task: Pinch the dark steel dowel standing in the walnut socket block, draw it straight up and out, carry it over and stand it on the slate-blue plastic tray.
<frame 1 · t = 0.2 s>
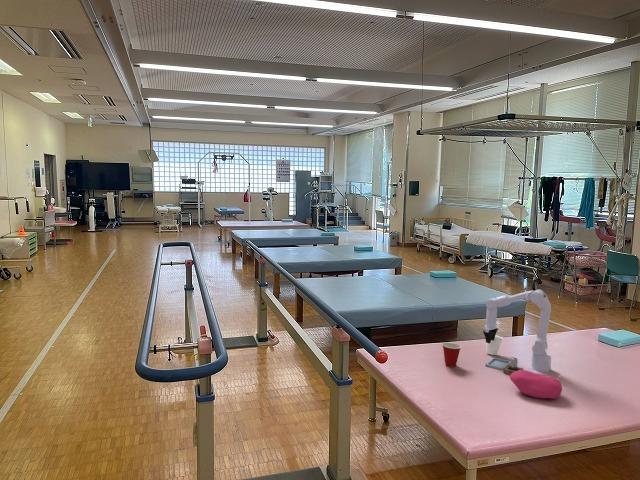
hand: (489, 341, 274), 10 cm above the table, fingers open, 6 cm apart
socket block: (513, 373, 252), on the table
plastic cup: (450, 365, 263), on the table
tray: (498, 365, 264), on the table
dowel: (513, 372, 252), resting on socket block
cushion: (536, 393, 228), on the table
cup: (491, 354, 281), on the table, touching gripper
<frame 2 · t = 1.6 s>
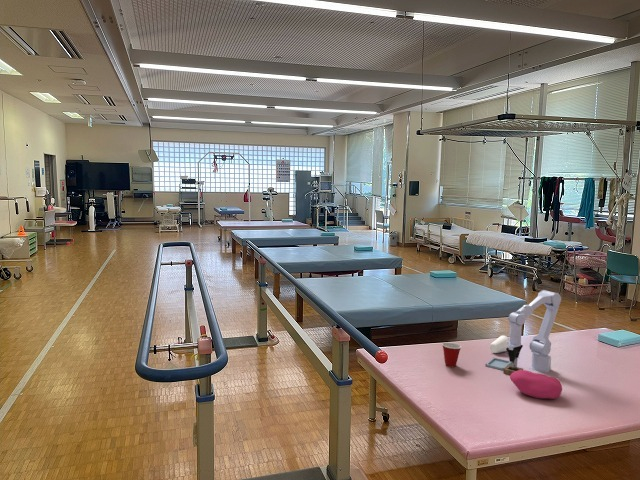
hand: (513, 359, 251), 8 cm above the table, fingers open, 7 cm apart
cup: (493, 348, 282), point 3 cm above the table
everything else where it was.
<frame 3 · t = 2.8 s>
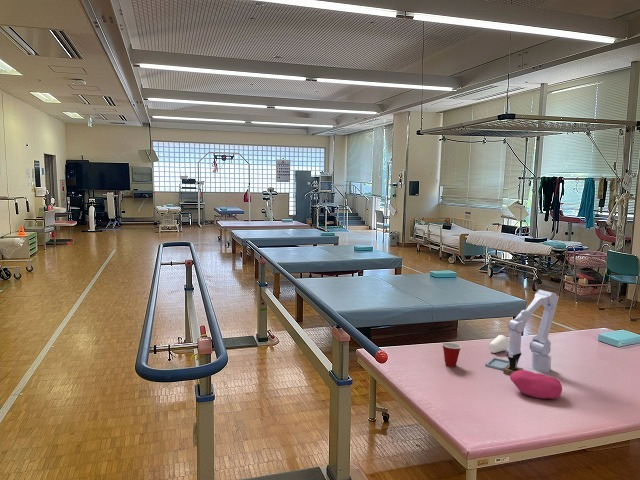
hand: (513, 366, 252), 4 cm above the table, fingers closed on dowel, 3 cm apart
dowel: (513, 372, 252), resting on socket block, touching gripper
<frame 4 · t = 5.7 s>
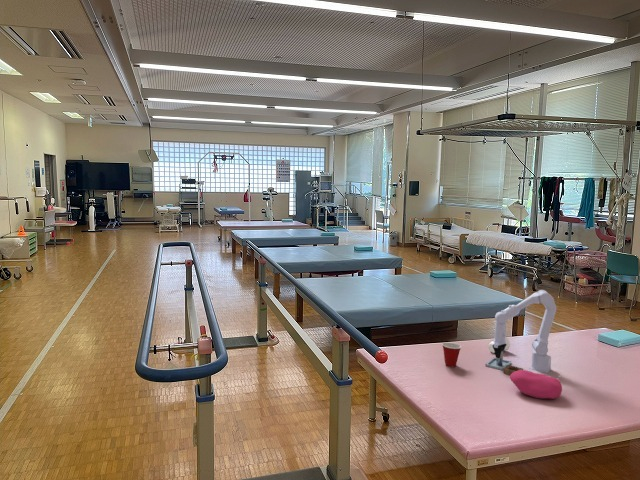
hand: (498, 356, 263), 5 cm above the table, fingers closed on dowel, 3 cm apart
dowel: (499, 364, 263), point 1 cm above the table, touching gripper, tray
when the fingers open (5 cm above the table, at t = 5.8 s): dowel stays where it is, resting on tray.
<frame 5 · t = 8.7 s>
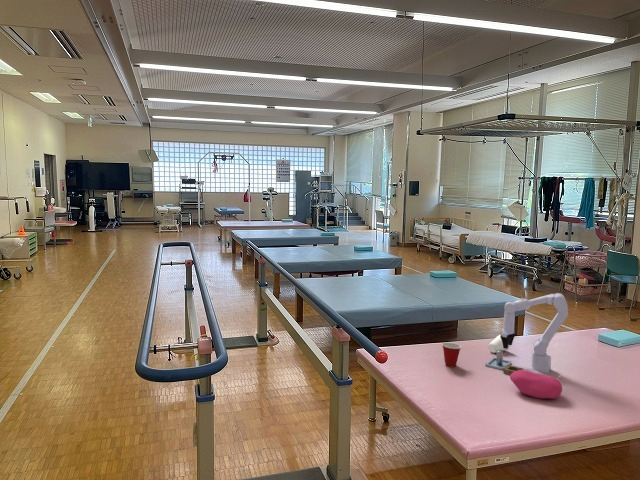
hand: (507, 346, 264), 10 cm above the table, fingers open, 7 cm apart
dowel: (499, 364, 263), point 1 cm above the table, touching tray
at the end: dowel inside the target area on the tray (0.5 cm from its centre), point 0.6 cm above the tray's base; the gripper is holding nothing; dowel touching tray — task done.
